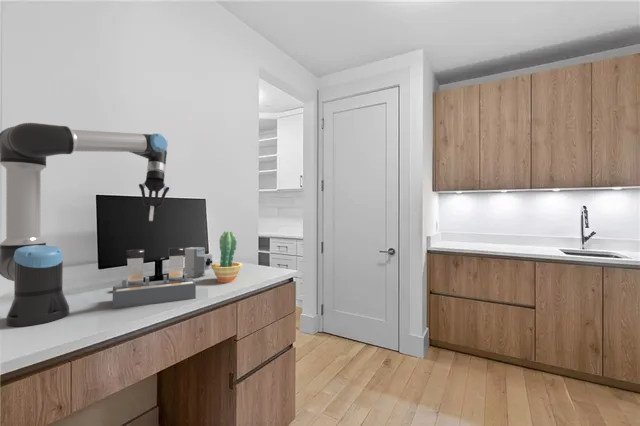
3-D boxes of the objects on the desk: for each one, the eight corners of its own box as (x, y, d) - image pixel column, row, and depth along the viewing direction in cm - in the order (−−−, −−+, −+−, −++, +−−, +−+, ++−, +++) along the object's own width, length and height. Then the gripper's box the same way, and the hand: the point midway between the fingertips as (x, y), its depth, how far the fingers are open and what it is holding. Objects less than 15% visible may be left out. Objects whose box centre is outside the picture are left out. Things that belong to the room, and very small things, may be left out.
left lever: (127, 287, 116) (126, 253, 110) (127, 282, 118) (126, 248, 112) (144, 285, 118) (143, 252, 113) (144, 280, 121) (144, 247, 115)
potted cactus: (247, 278, 160) (248, 230, 160) (232, 285, 145) (232, 232, 145) (221, 276, 164) (222, 230, 164) (204, 282, 149) (204, 232, 149)
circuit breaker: (207, 277, 160) (207, 249, 160) (183, 276, 163) (183, 248, 163) (214, 274, 167) (214, 247, 167) (191, 273, 170) (191, 247, 170)
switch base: (112, 308, 110) (112, 284, 110) (116, 300, 120) (116, 277, 120) (195, 298, 123) (195, 276, 123) (192, 291, 134) (192, 270, 134)
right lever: (168, 283, 122) (169, 251, 117) (167, 278, 125) (168, 246, 119) (183, 281, 125) (184, 250, 119) (182, 276, 128) (184, 245, 122)
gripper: (170, 177, 152) (166, 223, 145) (140, 173, 146) (134, 221, 139) (171, 171, 145) (167, 219, 139) (140, 167, 139) (133, 217, 133)
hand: (150, 220), depth 139 cm, fingers closed
